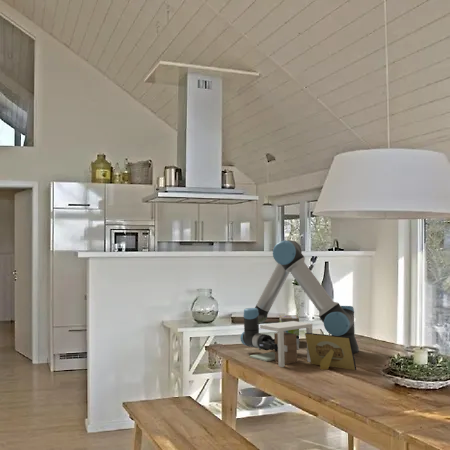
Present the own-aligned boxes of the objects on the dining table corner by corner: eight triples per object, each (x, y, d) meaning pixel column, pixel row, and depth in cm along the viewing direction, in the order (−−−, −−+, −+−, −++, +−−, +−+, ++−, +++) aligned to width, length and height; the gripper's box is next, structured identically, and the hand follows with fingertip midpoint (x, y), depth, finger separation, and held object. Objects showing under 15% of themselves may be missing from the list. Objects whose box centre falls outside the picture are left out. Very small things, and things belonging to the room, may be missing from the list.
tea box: (300, 345, 331) (299, 317, 332) (281, 345, 331) (280, 318, 332) (297, 340, 346) (296, 314, 347) (279, 340, 347) (278, 314, 347)
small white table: (261, 362, 288) (260, 325, 289) (294, 356, 299) (293, 320, 299) (280, 367, 276) (279, 328, 276) (314, 361, 287) (313, 324, 287)
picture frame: (356, 369, 267) (353, 335, 266) (345, 375, 261) (342, 340, 260) (312, 363, 283) (309, 331, 282) (301, 368, 276) (298, 336, 275)
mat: (249, 357, 302) (249, 355, 302) (272, 353, 309) (272, 351, 309) (266, 361, 290) (266, 359, 290) (289, 357, 297) (289, 356, 297)
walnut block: (275, 360, 291) (274, 333, 291) (285, 359, 294) (284, 332, 294) (287, 363, 283) (286, 335, 283) (297, 362, 286) (296, 334, 287)
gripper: (278, 347, 309) (308, 353, 289) (247, 351, 299) (276, 358, 279) (278, 332, 309) (308, 337, 289) (247, 336, 299) (275, 342, 279)
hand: (292, 347), depth 284 cm, fingers closed on walnut block, 6 cm apart
